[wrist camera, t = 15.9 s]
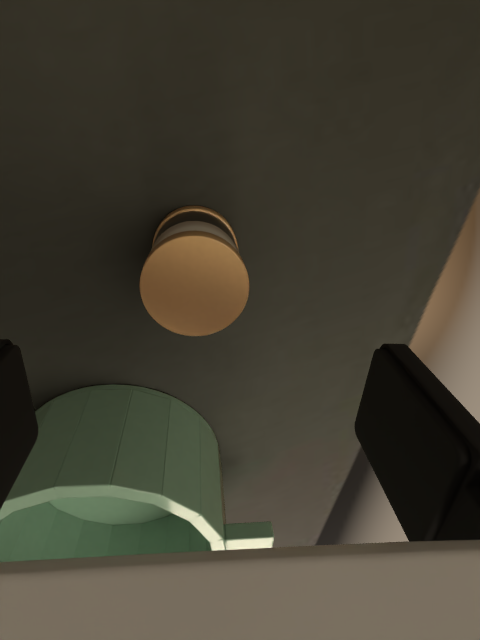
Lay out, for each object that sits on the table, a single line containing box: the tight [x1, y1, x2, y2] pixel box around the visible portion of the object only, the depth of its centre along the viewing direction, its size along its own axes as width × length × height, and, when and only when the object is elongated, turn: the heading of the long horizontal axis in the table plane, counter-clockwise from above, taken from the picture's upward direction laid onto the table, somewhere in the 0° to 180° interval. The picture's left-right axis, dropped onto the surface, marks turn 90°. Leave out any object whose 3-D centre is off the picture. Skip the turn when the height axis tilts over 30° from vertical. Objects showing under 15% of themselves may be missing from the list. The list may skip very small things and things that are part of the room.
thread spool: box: [140, 206, 249, 336], centre depth 18 cm, size 4×4×6 cm
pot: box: [0, 384, 274, 562], centre depth 24 cm, size 14×19×8 cm
